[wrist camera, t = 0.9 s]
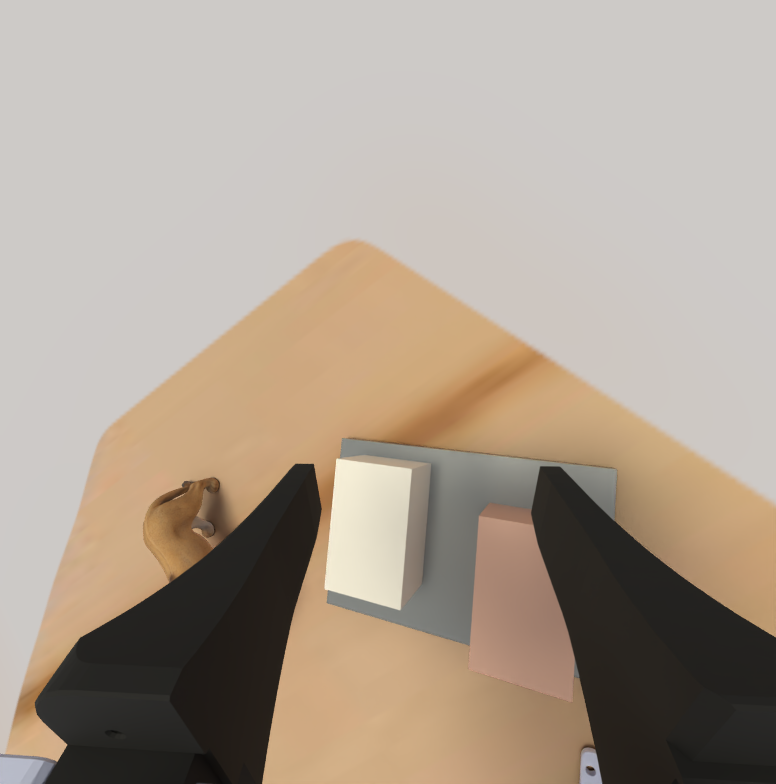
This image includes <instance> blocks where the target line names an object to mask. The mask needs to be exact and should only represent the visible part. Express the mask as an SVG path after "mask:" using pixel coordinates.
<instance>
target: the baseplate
mask: <svg viewBox="0 0 776 784" xmlns="http://www.w3.org/2000/svg"><path fill="white" fill-rule="evenodd" d="M360 455H370V456H378V457H386V458H394V459H401V460H409V461H417V462H425V463H431V474H430V487H429V500H428V513H427V525H426V538H425V551H424V564H423V577H422V584H421V586H420V587H419V588H418V589H417V591H416V592H415V593H414V594H413V596H412V597H411V598H410V599H409V600H408V602H407V603H406V604H405V605H404V607H403V608H402V609H401V610H397V609H393V608H390V607H386V606H383V605H379V604H376V603H372V602H369V601H365V600H362V599H358V598H355V597H351V596H347V595H344V594H340V593H337V592H333V591H330V590H328V596H327V603H328V604H332V605H335V606H338V607H342V608H345V609H348V610H352V611H355V612H359V613H362V614H365V615H369V616H372V617H375V618H379V619H382V620H385V621H389V622H392V623H396V624H399V625H402V626H406V627H409V628H412V629H416V630H419V631H422V632H426V633H429V634H433V635H436V636H439V637H443V638H446V639H449V640H453V641H456V642H459V643H463V644H466V645H470V636H471V622H472V608H473V593H474V579H475V565H476V551H477V537H478V522H479V515H480V514H481V513H482V511H483V510H484V509H485V508H486V506H487V505H488V504H489V503H495V504H501V505H508V506H514V507H520V508H526V509H532V505H533V500H534V495H535V490H536V485H537V479H538V474H539V469H540V466H560V467H561V468H562V469H563V470H564V471H565V472H566V473H567V474H568V475H569V476H570V477H571V478H572V479H573V480H574V481H575V482H576V483H577V484H578V485H579V486H580V487H581V488H582V489H583V490H584V491H585V493H586V494H587V495H588V496H589V497H590V498H591V499H592V500H593V501H594V502H595V503H596V504H597V505H598V506H599V507H600V508H601V509H602V510H603V511H604V512H606V513H607V514H608V515H609V516H610V517H611V518H612V519H613V520H614V521H615V501H616V481H617V469H615V468H609V467H600V466H592V465H583V464H574V463H565V462H556V461H547V460H538V459H530V458H521V457H512V456H503V455H494V454H485V453H476V452H467V451H459V450H450V449H441V448H432V447H423V446H414V445H405V444H397V443H388V442H379V441H370V440H361V439H352V438H342V444H341V455H340V458H345V457H353V456H360ZM574 677H577V678H579V673H578V669H577V665H576V661H575V664H574Z"/></svg>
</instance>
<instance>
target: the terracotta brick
mask: <svg viewBox="0 0 776 784" xmlns="http://www.w3.org/2000/svg"><path fill="white" fill-rule="evenodd" d="M531 510H532V509H526V508H520V507H514V506H508V505H501V504H495V503H489V504H488V505H487V506H486V508H485V509H484V510H483V511H482V513H481V514H480V515H479V522H478V537H477V551H476V565H475V579H474V593H473V608H472V622H471V636H470V650H469V665H468V670H471V671H475V672H478V673H481V674H484V675H487V676H490V677H493V678H496V679H499V680H503V681H506V682H509V683H512V684H515V685H518V686H521V687H524V688H528V689H531V690H534V691H537V692H540V693H543V694H546V695H549V696H553V697H556V698H559V699H562V700H565V701H568V702H571V703H572V701H573V683H574V664H575V657H574V653H573V649H572V645H571V641H570V637H569V633H568V630H567V627H566V623H565V620H564V617H563V614H562V611H561V608H560V606H559V603H558V600H557V597H556V594H555V592H554V589H553V586H552V583H551V580H550V578H549V575H548V572H547V569H546V566H545V564H544V561H543V558H542V555H541V552H540V549H539V546H538V543H537V539H536V534H535V530H534V525H533V521H532V516H531Z"/></svg>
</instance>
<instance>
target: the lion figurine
mask: <svg viewBox="0 0 776 784" xmlns="http://www.w3.org/2000/svg"><path fill="white" fill-rule="evenodd" d="M182 487H183V488H179V489H176V490H173V491H171V492H168V493H166V494H164V495H162V496H160V497H159V498H158V499H156V500H155V501H154V502H153V503H152V504H151V505H150V507H149V509H148V511H147V513H146V516H145V521H144V524H143V536H144V542H145V544H146V546H147V547H148V549H149V550H150V551H151V552H152V553H153V555H154V556H155V557H156V558H157V560H158V561H159V563H160V565H161V566H162V568H163V570H164V572H165V574H166V576H167V578H168V581H169V583H170V582H172V581H173V580H174V579H176V578H177V577H178V576H180V575H181V574H182V573H184V572H185V571H186V570H188V569H189V568H190V567H192V566H193V565H194V564H196V563H197V562H198V561H200V560H201V559H202V558H203V557H205V556H206V555H207V554H208V553H209V552H211V551H212V550H213V548H212V547H211V545H210V544H209V543H208V542H207V540H206V539H204V538H203V537H202V536H201V535H200V534H197V533H195V532H194V531H193V530H192V529H193V528H199V529H201V530H202V535H203V536H205V537H211V536H212V535H213V533H214V527H213V525H212V524H211V523H210V522H208V521H205V520H203V519H201V518H199V517H197V516H196V515H197V513H198V512H199V510H200V507H201V505H202V499H203V491H204V488H206V489H207V491H208V492H210V493H213V492H216V491H217V490H218V488H219V482H218V481H217V480H216V479H214V478H208V479H203V480H200V481H197V482H194V483H192V484H191V482H188V481H185V482H184V483H183V484H182ZM186 492H187V493H186ZM184 493H185V494H184ZM182 494H184V495H183V496H181V497H179V498H177V499H174V498H176V497H178V496H180V495H182ZM172 499H174V500H172ZM170 500H171V501H170Z"/></svg>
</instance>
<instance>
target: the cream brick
mask: <svg viewBox="0 0 776 784" xmlns="http://www.w3.org/2000/svg"><path fill="white" fill-rule="evenodd" d="M430 474H431V463H425V462H417V461H409V460H401V459H394V458H386V457H378V456H370V455H360V456H353V457H345V458H338V459H337V460H336V470H335V481H334V492H333V503H332V513H331V524H330V535H329V546H328V556H327V567H326V578H325V589H326V590H330V591H333V592H337V593H340V594H344V595H347V596H351V597H355V598H358V599H362V600H365V601H369V602H372V603H376V604H379V605H383V606H386V607H390V608H393V609H397V610H401V609H402V608H403V607H404V605H405V604H406V603H407V602H408V600H409V599H410V598H411V597H412V596H413V594H414V593H415V592H416V591H417V589H418V588H419V587H420V586H421V584H422V577H423V564H424V551H425V538H426V525H427V513H428V500H429V487H430Z"/></svg>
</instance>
